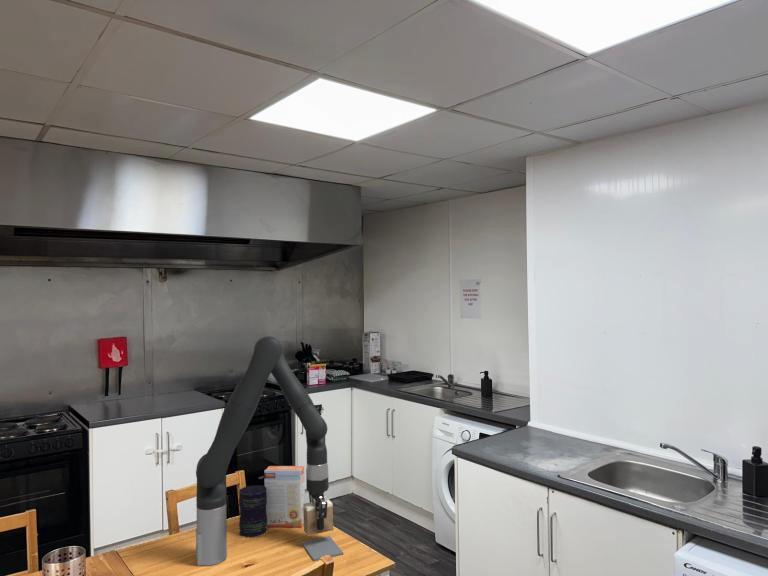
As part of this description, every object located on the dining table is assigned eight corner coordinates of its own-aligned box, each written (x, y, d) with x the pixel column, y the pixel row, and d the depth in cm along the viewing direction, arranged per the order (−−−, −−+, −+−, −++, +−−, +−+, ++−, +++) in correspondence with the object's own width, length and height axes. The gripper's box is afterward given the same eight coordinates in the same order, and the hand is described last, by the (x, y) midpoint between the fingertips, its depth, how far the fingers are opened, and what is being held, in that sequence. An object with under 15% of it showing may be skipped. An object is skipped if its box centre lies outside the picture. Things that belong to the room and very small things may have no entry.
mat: (313, 561, 165) (313, 559, 165) (301, 543, 177) (301, 541, 177) (343, 554, 169) (343, 552, 169) (329, 537, 182) (329, 535, 182)
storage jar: (239, 527, 191) (238, 486, 192) (266, 524, 194) (266, 483, 195) (239, 539, 182) (238, 496, 182) (267, 535, 184) (267, 492, 185)
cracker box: (305, 521, 196) (305, 465, 197) (301, 528, 190) (300, 470, 191) (269, 520, 197) (269, 464, 198) (264, 527, 191) (263, 469, 192)
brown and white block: (307, 535, 173) (307, 508, 173) (303, 530, 177) (303, 503, 178) (333, 530, 177) (332, 503, 177) (328, 525, 181) (328, 499, 181)
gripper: (300, 471, 183) (301, 521, 182) (312, 483, 170) (314, 537, 169) (321, 468, 186) (322, 517, 185) (334, 480, 173) (335, 532, 172)
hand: (318, 526), depth 177 cm, fingers closed on brown and white block, 4 cm apart
